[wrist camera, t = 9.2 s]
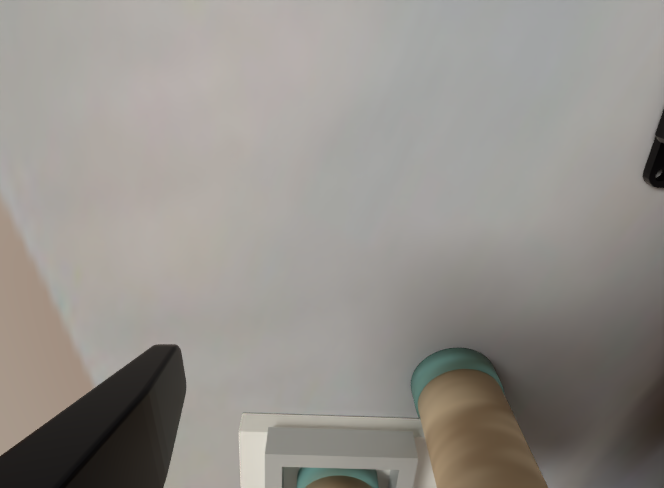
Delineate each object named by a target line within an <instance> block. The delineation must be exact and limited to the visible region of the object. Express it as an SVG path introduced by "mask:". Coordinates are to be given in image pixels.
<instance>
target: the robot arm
mask: <svg viewBox="0 0 664 488" xmlns="http://www.w3.org/2000/svg"><path fill="white" fill-rule="evenodd" d="M661 169H662V173H661V175H660V176H659V177H657V178H655V176H656V173H657V172H658V171H659V170H661ZM643 178H644V181H645V182H647V183H648V184H650V185H652V186H654V187H660V188H664V111H663V113H662V116H661V119H660V122H659V125H658V128H657V131H656V137H655V140H654V143H653V146H652V149H651V152H650V154H649V157H648V160H647V163H646V166H645V169H644V172H643ZM185 394H186V378H185V372H184V366H183V359H182V353H181V350H180V348H179V346H177V345H175V344H158V345H154V346H152V347H151V348H149V349H148V350H147V351H145V352H144V353H142V354H141V355H140V356H138V357H137V358H135V359H134V360H133V361H131V362H130V363H129V364H127V365H126V366H124V367H123V368H122V369H120V370H119V371H117V372H116V373H115V374H113V375H112V376H111V377H109V378H108V379H106V380H105V381H104V382H102V383H101V384H99V385H98V386H97V387H95V388H94V389H93V390H91V391H90V392H88V393H87V394H86V395H84V396H83V397H81V398H80V399H79V400H77V401H76V402H75V403H73V404H72V405H71V406H69V407H68V408H66V409H65V410H64V411H62V412H61V413H59V414H58V415H57V416H55V417H54V418H52V419H51V420H50V421H48V422H47V423H45V424H44V425H43V426H41V427H40V428H39V429H37V430H36V431H34V432H33V433H32V434H30V435H29V436H27V437H26V438H25V439H24V440H22V441H21V442H19V443H18V444H16V445H15V446H14V447H12V448H11V449H9V450H8V451H7V452H5V453H4V454H3V455H1V456H0V488H163V486H164V483H165V480H166V477H167V473H168V469H169V465H170V461H171V456H172V452H173V447H174V443H175V439H176V434H177V430H178V425H179V421H180V416H181V412H182V408H183V403H184V399H185Z"/></svg>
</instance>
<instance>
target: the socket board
mask: <svg viewBox="0 0 664 488" xmlns="http://www.w3.org/2000/svg"><path fill="white" fill-rule="evenodd" d="M239 454H240V483H241V488H296V487H297V474H298V471H299V469H300V467H307V468H343V469H376V472H377V477H378V486H379V488H437V486H436V482H435V478H434V474H433V470H432V465H431V461H430V457H429V453H428V449H427V444H426V440H425V436H424V432H423V428H422V423H421V420H420V419H413V418H382V417H351V416H319V415H288V414H257V413H242V418H241V423H240V427H239Z"/></svg>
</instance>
